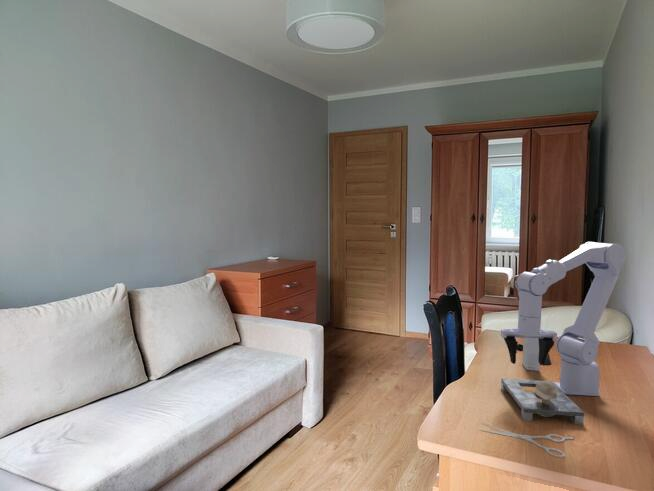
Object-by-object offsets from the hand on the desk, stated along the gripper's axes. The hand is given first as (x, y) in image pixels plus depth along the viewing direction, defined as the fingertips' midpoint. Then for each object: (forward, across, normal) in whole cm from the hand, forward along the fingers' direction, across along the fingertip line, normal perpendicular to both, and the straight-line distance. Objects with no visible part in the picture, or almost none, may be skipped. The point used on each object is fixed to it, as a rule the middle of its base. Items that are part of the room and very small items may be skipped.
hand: (527, 363), depth 124 cm
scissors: (+10, +9, +24) cm, 28 cm away
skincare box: (+10, -10, -24) cm, 28 cm away
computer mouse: (+10, -15, -36) cm, 41 cm away
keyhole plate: (+9, -1, +6) cm, 11 cm away
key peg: (+9, -1, +11) cm, 14 cm away
